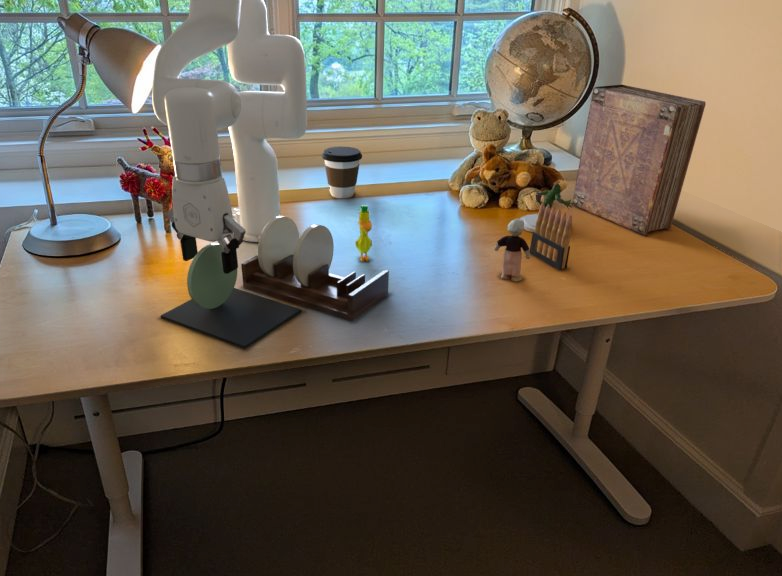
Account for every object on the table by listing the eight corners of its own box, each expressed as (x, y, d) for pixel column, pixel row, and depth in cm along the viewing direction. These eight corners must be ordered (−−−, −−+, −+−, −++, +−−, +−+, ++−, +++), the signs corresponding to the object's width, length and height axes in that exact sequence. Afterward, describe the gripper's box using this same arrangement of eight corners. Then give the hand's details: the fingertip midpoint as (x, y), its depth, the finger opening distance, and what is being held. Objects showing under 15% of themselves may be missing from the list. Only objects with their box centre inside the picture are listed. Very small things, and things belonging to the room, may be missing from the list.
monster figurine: (577, 228, 159) (586, 187, 153) (544, 237, 153) (551, 195, 148) (541, 214, 167) (548, 175, 162) (508, 222, 161) (514, 182, 156)
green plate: (190, 316, 115) (183, 253, 109) (235, 295, 124) (231, 235, 118) (194, 318, 115) (188, 254, 109) (239, 296, 124) (235, 236, 118)
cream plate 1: (259, 284, 126) (254, 226, 119) (296, 263, 134) (294, 208, 128) (263, 285, 125) (259, 227, 119) (300, 264, 134) (298, 209, 128)
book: (671, 230, 158) (707, 102, 142) (644, 236, 155) (678, 105, 139) (596, 200, 177) (621, 83, 161) (571, 205, 174) (593, 86, 158)
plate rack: (243, 287, 128) (240, 263, 125) (283, 265, 137) (282, 242, 135) (352, 321, 117) (352, 296, 114) (388, 295, 126) (389, 270, 123)
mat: (160, 318, 117) (160, 315, 116) (221, 286, 128) (221, 283, 128) (245, 349, 108) (244, 346, 108) (301, 311, 119) (301, 309, 119)
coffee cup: (332, 203, 172) (332, 158, 166) (316, 191, 180) (315, 148, 174) (368, 197, 176) (369, 153, 170) (351, 187, 185) (351, 144, 178)
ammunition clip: (566, 269, 138) (577, 215, 131) (560, 270, 137) (570, 216, 131) (535, 251, 146) (543, 199, 139) (528, 252, 145) (537, 201, 139)
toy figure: (375, 265, 138) (377, 211, 131) (359, 266, 137) (360, 212, 131) (368, 253, 143) (369, 201, 137) (353, 254, 143) (353, 202, 136)
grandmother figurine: (528, 276, 134) (537, 218, 127) (526, 283, 131) (535, 224, 124) (492, 271, 136) (499, 213, 130) (488, 278, 133) (496, 219, 126)
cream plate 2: (294, 295, 122) (291, 235, 116) (330, 273, 131) (329, 216, 124) (298, 296, 122) (295, 236, 115) (334, 274, 130) (333, 217, 124)
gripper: (144, 166, 107) (160, 260, 116) (221, 184, 99) (232, 283, 109) (177, 156, 112) (190, 247, 122) (253, 172, 105) (261, 268, 114)
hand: (210, 264), depth 115 cm, fingers open, 9 cm apart
